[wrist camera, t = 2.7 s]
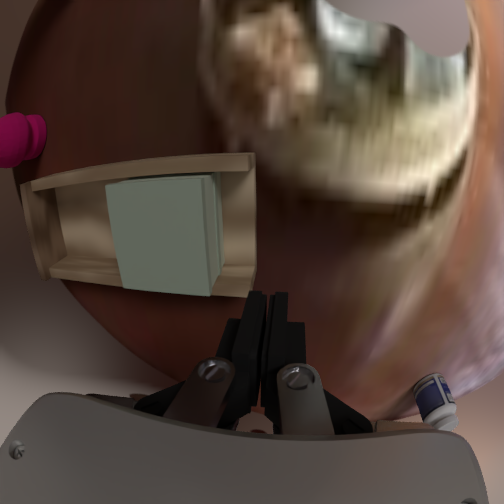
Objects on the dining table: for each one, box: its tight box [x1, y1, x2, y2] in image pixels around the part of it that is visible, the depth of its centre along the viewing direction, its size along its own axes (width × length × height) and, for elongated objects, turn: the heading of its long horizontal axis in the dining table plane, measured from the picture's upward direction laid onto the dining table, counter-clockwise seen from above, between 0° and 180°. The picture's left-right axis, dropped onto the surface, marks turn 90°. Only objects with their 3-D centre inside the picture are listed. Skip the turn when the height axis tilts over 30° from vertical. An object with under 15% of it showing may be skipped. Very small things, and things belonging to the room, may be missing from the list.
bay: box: [20, 153, 257, 297], centre depth 25 cm, size 12×26×6 cm, turn 90°
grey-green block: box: [105, 172, 225, 296], centre depth 23 cm, size 9×8×6 cm
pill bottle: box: [413, 373, 459, 432], centre depth 29 cm, size 6×6×10 cm
